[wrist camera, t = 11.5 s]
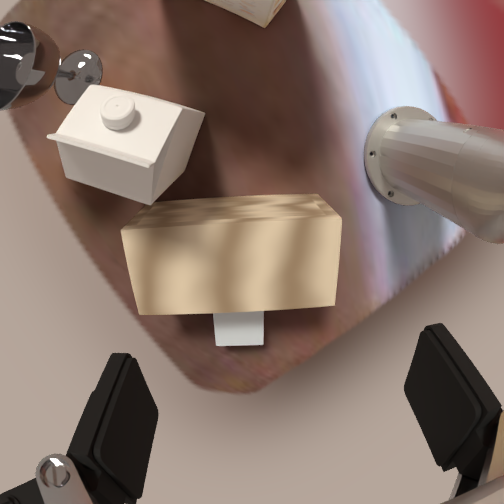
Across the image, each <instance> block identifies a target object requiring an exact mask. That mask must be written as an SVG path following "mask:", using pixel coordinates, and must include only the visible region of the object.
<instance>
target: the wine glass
mask: <svg viewBox="0 0 504 504" xmlns="http://www.w3.org/2000/svg"><path fill="white" fill-rule="evenodd" d="M101 78H102V63H101V61H100V59H99V57H98V56H97V55H96V54H95V53H94V52H92V51H90V50H78V51H75V52H73V53H71V54H69V55H68V56H67V57H66V58H64V59H63V61H62V62H61V56H60V51H59V48H58V46H57V45H56V43H55V41H54V40H53V39H52V38H51V37H50V36H49V35H48V34H46V33H45V32H44V31H42V30H40V29H39V28H37V27H34V26H32V25H30V24H26V23H23V22H17V21H15V22H9V23H6V24H4V25H2V26H0V111H1V110H8V109H15V108H18V107H21V106H24V105H27V104H29V103H32V102H34V101H35V100H37V99H39V98H40V97H42V96H43V95H44V94H45V93H46V92H47V91H48V90H49V89H50V88H51V86H52V85H53V83H54V89H55V92H56V94H57V96H58V98H59V99H60V100H61V101H63V102H64V103H67V104H76V103H77V101H78V100H79V99H80V97H81V96H82V95H83V93H84V92H85V91H86V89H87V88H88V87H89V86H90V85H99V84H100V81H101Z"/></svg>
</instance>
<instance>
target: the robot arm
mask: <svg viewBox="0 0 504 504" xmlns="http://www.w3.org/2000/svg"><path fill="white" fill-rule="evenodd" d="M391 115H392V118H391ZM370 152H372V155H370ZM364 160H365V167H366V171H367V174H368V177H369V179H370V181H371V183H372V184H373V186H374V187H375V188H376V190H377V191H378V192H379V193H380V194H381V195H382V196H383V197H385V198H387V199H388V200H390V201H392V202H394V203H396V204H400V205H404V206H412V205H417V204H420V203H421V204H423V205H424V206H426V207H428V208H430V209H431V210H433V211H435V212H437V213H438V214H440V215H442V216H443V217H445V218H447V219H449V220H450V221H452V222H453V223H455V224H457V225H458V226H460V227H462V228H463V229H465V230H467V231H468V232H470V233H472V234H473V235H475V236H476V237H478V238H480V239H482V240H484V241H487V242H490V243H496V244H503V243H504V130H499V129H493V128H487V127H481V126H474V125H467V124H459V123H451V122H442V121H437V120H436V119H435V118H434V117H433V116H432V115H430V114H429V113H428V112H426V111H424V110H422V109H420V108H416V107H410V106H403V107H396V108H393V109H390V110H388V111H386V112H385V113H383V114H382V115H381V116H380V117H379V118H378V119H377V120H376V121H375V122H374V124H373V125H372V127H371V128H370V131H369V133H368V135H367V138H366V142H365V149H364ZM388 192H389V194H388ZM404 391H405V395H406V397H407V399H408V401H409V403H410V405H411V408H412V410H413V412H414V414H415V416H416V418H417V420H418V423H419V425H420V427H421V429H422V432H423V434H424V436H425V438H426V441H427V443H428V445H429V448H430V450H431V452H432V455H433V457H434V459H435V462H436V464H437V465H438V466H441V467H442V469H443V471H444V472H445V471H447V470H450V469H452V468H454V467H457V469H458V471H459V474H458V476H457V479H456V482H455V485H454V488H453V490H452V493H451V496H450V498H449V500H448V501H446V502H444V503H441V504H504V410H502V409H501V404H500V402H499V401H498V399H497V398H496V396H495V395H494V394H493V392H492V390H491V389H490V387H489V386H488V384H487V383H486V381H485V380H484V378H483V377H482V376H481V375H480V373H479V371H478V370H477V369H476V367H475V366H474V364H473V363H472V362H471V360H470V359H469V357H468V356H467V355H466V353H465V352H464V351H463V349H462V348H461V347H460V345H459V344H458V343H457V341H456V340H455V339H454V337H453V336H452V335H451V334H450V332H449V331H448V330H447V328H446V327H445V326H444V325H443V324H442V323H438V324H433V325H429V326H426V327H425V328H424V331H422V332H421V333H420V336H419V339H418V343H417V346H416V350H415V354H414V356H413V360H412V363H411V366H410V370H409V372H408V375H407V379H406V381H405V385H404ZM157 421H158V409H157V406H156V404H155V402H154V400H153V397H152V395H151V393H150V391H149V388H148V386H147V384H146V381H145V379H144V377H143V374H142V372H141V369H140V367H139V364H138V362H137V360H136V359H135V358H132V356H131V355H130V354H128V353H112V355H111V356H110V358H109V360H108V362H107V364H106V367H105V369H104V371H103V373H102V375H101V378H100V380H99V382H98V384H97V387H96V389H95V390H94V391H93V392H92V393H91V395H90V397H89V400H88V402H87V404H86V407H85V409H84V411H83V414H82V416H81V419H80V421H79V423H78V426H77V428H76V431H75V433H74V436H73V438H72V441H71V443H70V446H69V449H68V451H67V454H66V456H65V455H62V454H52V455H49V456H46V457H45V458H43V459H42V460H41V461H40V462H39V464H38V466H37V468H36V478H34V479H32V480H30V481H28V482H26V483H24V484H22V485H19V486H17V487H15V488H13V489H11V490H8V491H6V492H4V493H2V494H0V504H124V503H126V504H136V501H137V499H139V498H141V497H142V493H143V488H144V482H145V478H146V473H147V468H148V463H149V458H150V453H151V448H152V443H153V439H154V434H155V430H156V425H157Z"/></svg>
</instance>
